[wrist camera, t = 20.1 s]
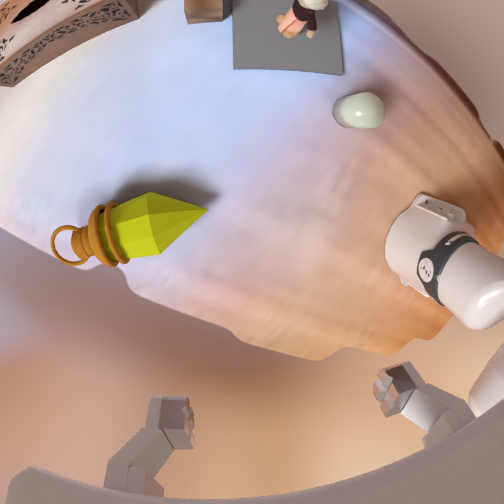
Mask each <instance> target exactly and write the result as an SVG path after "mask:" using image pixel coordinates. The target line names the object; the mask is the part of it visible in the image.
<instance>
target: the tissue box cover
mask: <svg viewBox="0 0 504 504" xmlns="http://www.w3.org/2000/svg"><path fill="white" fill-rule="evenodd" d="M137 19H139V15H138V8H137V1H136V0H7V1H6V2H5V3H3V4H2V5H1V6H0V86H6V87H14V86H15V85H17V84H18V83H19V82H21V81H22V80H23V79H25V78H26V77H28V76H29V75H30V74H32V73H33V72H35V71H36V70H38V69H39V68H41V67H42V66H44V65H45V64H47V63H48V62H50V61H52V60H53V59H55V58H57V57H58V56H60V55H62V54H63V53H65V52H67V51H69V50H71V49H72V48H74V47H76V46H78V45H80V44H82V43H84V42H86V41H88V40H90V39H92V38H94V37H96V36H98V35H100V34H102V33H105V32H107V31H109V30H112V29H114V28H116V27H119V26H121V25H124V24H126V23H129V22H132V21H134V20H137Z"/></svg>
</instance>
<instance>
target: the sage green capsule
mask: <svg viewBox="0 0 504 504" xmlns="http://www.w3.org/2000/svg"><path fill="white" fill-rule="evenodd" d="M333 116H334V119H335V120H336V122H337V123H338V124H339V125H341V126H342V127H345V128H375V127H378V126H379V125H380V124H381V123H382V122H383V120H384V117H385V108H384V105H383V103H382V101H381V100H380V98H379V97H378V96H376V95H375V94H373V93H371V92H362V93H358V94H354V95H350V96H346V97H343V98H340V99H338V100H337V101H336V102H335V103H334V105H333Z"/></svg>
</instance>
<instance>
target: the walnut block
mask: <svg viewBox="0 0 504 504" xmlns="http://www.w3.org/2000/svg"><path fill="white" fill-rule="evenodd" d="M184 12H185V16H186V19H187V23H188V24H196V23H206V22H220V21H222V19H223V0H184Z"/></svg>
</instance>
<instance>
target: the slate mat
mask: <svg viewBox="0 0 504 504" xmlns="http://www.w3.org/2000/svg"><path fill="white" fill-rule="evenodd" d="M293 2H294V0H232V20H233V67H234V70H235V69H268V70H290V71H303V72H314V73H323V74H331V75H338V76H341V75H343V67H342V53H341V42H340V32H339V23H338V15H337V7H336V2H335V1H330V0H328V4H327V6H326V7H325V8H324V9H320V10H315V18H316V24H317V30H316V31H315V33H314V37H313V38H308V37H307V36H306V33H307V22H306V24H305V25H304V27H303V29H302V30H301V31H300V35H299V36H296V37H294V38H290V39H289V38H286V37H284V36H283V34H282V32H280V31H279V30H278V26H279V23H278V22H277V20H276V17H277V16H278V15H280V14H284V15H286V13H287V12H288V11H289V10H290V9H291V7H292V5H293Z"/></svg>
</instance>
